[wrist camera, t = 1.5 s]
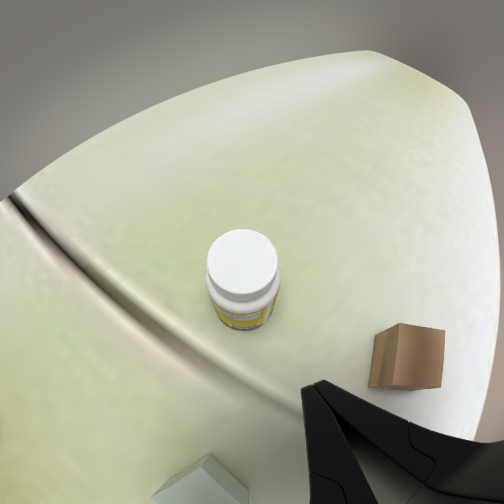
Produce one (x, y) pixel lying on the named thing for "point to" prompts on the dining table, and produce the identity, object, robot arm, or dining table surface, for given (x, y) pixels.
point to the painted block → (203, 485)
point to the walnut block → (407, 358)
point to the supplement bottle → (243, 278)
